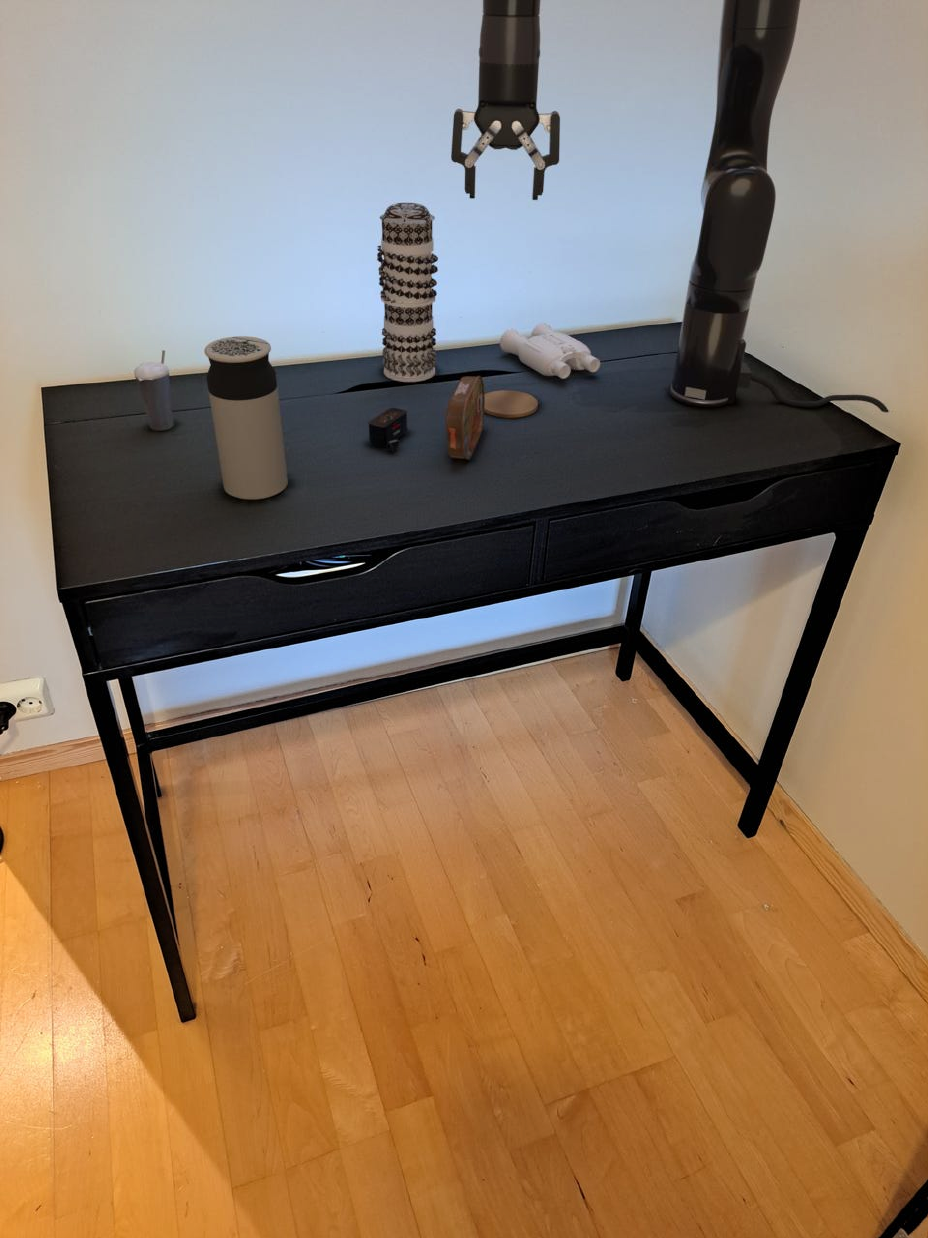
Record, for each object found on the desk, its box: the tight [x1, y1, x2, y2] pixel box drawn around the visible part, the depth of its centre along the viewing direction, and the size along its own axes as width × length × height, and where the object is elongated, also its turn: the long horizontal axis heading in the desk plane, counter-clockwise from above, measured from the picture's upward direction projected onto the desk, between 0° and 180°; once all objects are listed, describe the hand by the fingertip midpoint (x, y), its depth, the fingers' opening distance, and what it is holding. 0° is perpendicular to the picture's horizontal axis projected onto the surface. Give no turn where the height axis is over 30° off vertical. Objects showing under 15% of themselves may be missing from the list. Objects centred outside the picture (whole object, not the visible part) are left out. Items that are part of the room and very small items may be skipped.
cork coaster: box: [484, 389, 539, 419], centre depth 136 cm, size 9×9×1 cm
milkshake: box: [133, 350, 175, 432], centre depth 125 cm, size 4×5×10 cm
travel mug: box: [203, 335, 289, 500], centre depth 108 cm, size 8×8×18 cm
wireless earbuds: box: [368, 407, 408, 452], centre depth 124 cm, size 5×7×3 cm, turn 152°
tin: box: [445, 375, 485, 461], centre depth 122 cm, size 15×3×8 cm, turn 168°
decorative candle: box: [376, 202, 439, 383], centre depth 138 cm, size 9×9×25 cm
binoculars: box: [499, 322, 601, 380], centre depth 148 cm, size 10×16×5 cm, turn 30°
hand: (503, 198), depth 122 cm, fingers open, 8 cm apart
